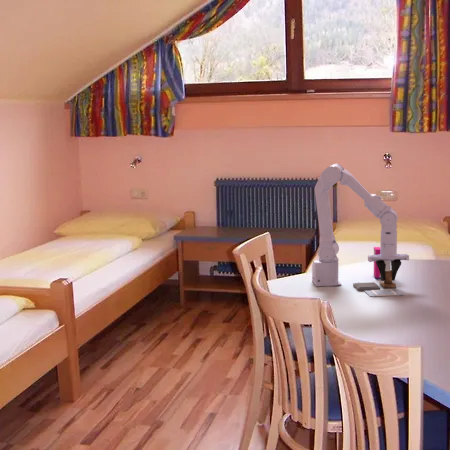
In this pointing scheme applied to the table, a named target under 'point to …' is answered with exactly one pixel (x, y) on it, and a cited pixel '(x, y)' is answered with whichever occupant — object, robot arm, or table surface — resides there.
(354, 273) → the table surface
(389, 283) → the stamp
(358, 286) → the pad
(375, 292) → the print card
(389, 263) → the supplement box
